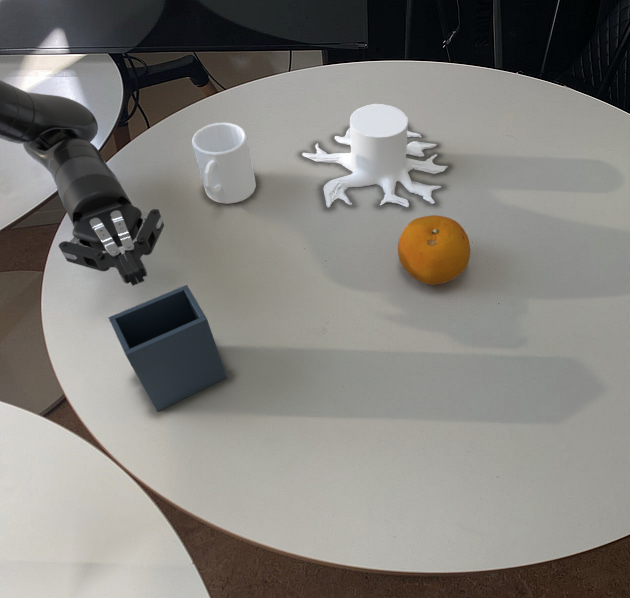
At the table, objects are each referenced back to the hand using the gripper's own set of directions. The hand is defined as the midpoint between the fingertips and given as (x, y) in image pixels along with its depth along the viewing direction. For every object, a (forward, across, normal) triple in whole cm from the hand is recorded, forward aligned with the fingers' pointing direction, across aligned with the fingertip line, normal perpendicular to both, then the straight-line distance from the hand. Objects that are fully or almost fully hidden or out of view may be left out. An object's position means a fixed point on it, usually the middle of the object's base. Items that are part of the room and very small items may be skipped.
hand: (136, 278), depth 71 cm
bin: (+8, 0, +11) cm, 14 cm away
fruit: (+10, +38, +11) cm, 40 cm away
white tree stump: (-15, +43, +11) cm, 47 cm away
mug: (-21, +19, +11) cm, 30 cm away
